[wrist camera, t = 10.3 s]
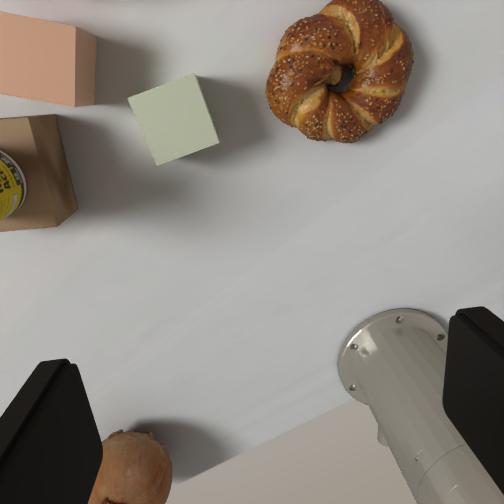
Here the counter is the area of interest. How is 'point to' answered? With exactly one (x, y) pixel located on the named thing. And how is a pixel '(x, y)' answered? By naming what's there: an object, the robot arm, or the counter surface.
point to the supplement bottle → (10, 186)
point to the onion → (132, 471)
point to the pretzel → (340, 71)
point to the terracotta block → (46, 61)
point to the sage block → (174, 119)
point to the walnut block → (38, 172)
